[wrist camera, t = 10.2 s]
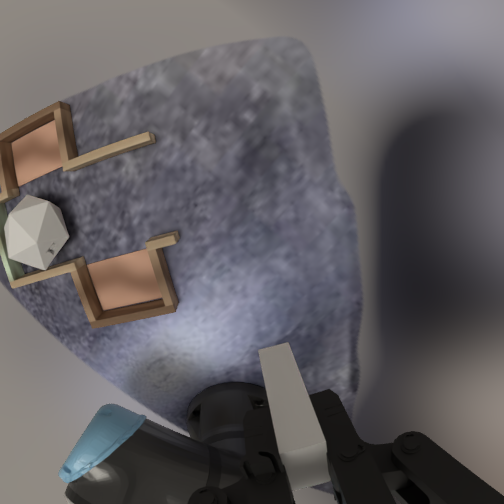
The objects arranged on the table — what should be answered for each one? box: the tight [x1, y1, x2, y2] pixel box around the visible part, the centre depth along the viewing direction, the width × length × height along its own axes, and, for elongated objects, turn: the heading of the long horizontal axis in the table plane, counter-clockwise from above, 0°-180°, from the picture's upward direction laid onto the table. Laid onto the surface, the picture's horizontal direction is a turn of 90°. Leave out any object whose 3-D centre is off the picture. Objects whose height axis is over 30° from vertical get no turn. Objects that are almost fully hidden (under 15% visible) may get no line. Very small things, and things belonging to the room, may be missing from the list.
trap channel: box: [0, 101, 180, 329], centre depth 34 cm, size 29×26×3 cm
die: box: [4, 195, 69, 270], centre depth 31 cm, size 8×9×10 cm
